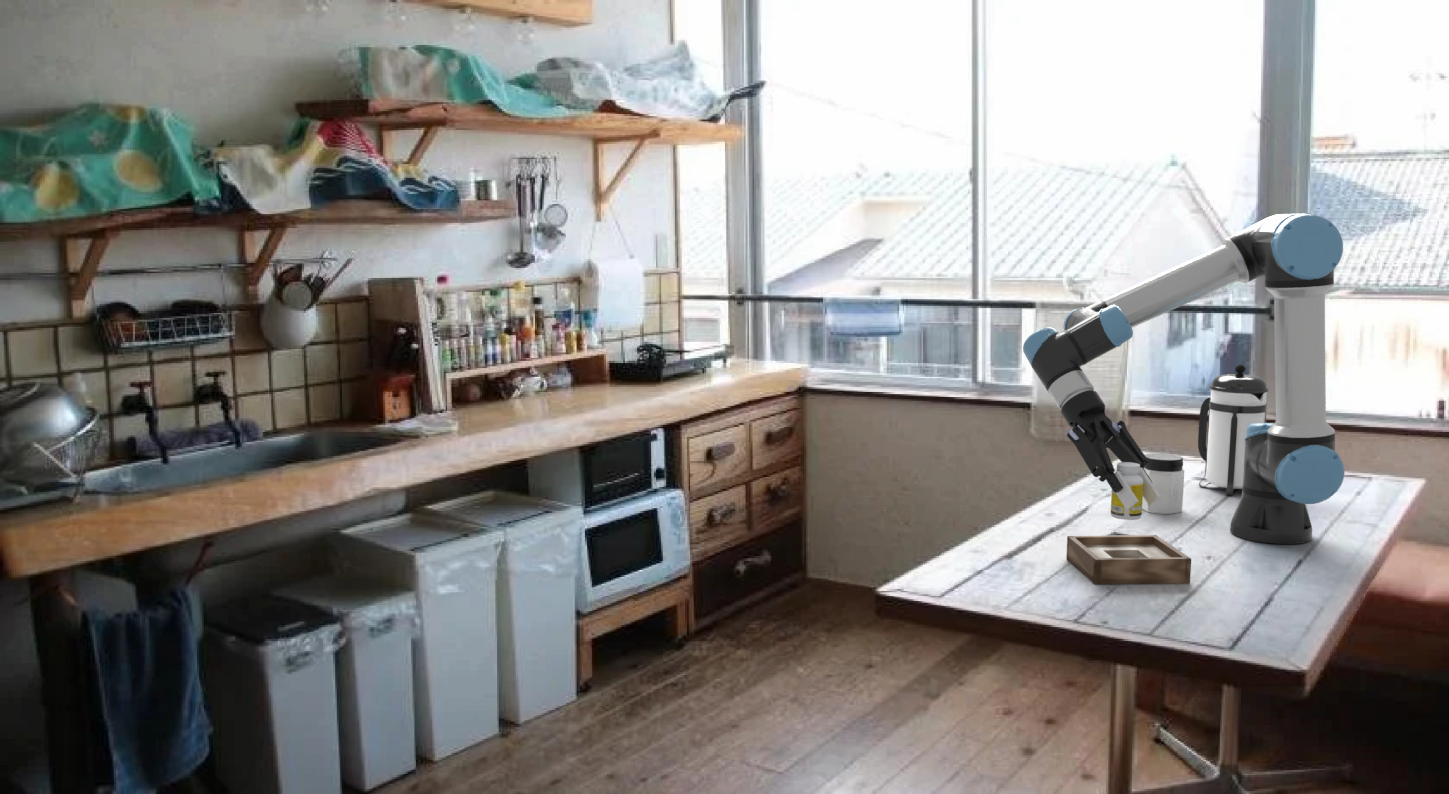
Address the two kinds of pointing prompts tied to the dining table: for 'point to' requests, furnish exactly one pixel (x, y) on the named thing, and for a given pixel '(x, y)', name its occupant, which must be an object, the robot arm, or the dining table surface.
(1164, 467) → the jar
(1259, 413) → the coffee press
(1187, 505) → the dining table surface
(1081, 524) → the dining table surface
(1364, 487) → the dining table surface
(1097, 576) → the socket box
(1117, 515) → the supplement bottle
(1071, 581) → the dining table surface
